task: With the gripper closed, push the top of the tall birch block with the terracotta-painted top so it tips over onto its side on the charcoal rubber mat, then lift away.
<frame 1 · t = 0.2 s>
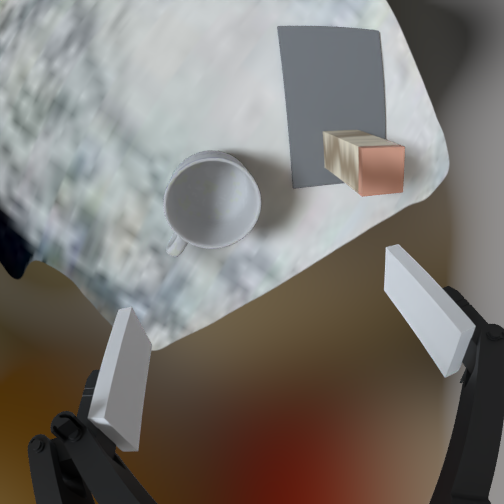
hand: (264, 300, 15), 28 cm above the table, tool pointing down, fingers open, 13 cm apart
teacup: (203, 192, 41), on the table
mat: (337, 104, 37), on the table
block: (341, 148, 40), resting on mat
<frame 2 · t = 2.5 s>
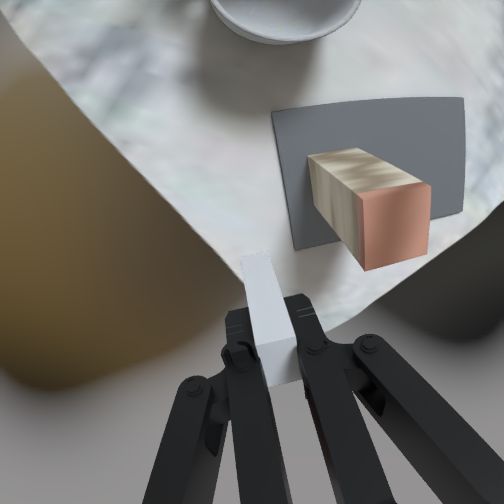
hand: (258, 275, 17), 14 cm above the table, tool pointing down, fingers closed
mat: (387, 166, 29), on the table
block: (335, 176, 29), resting on mat
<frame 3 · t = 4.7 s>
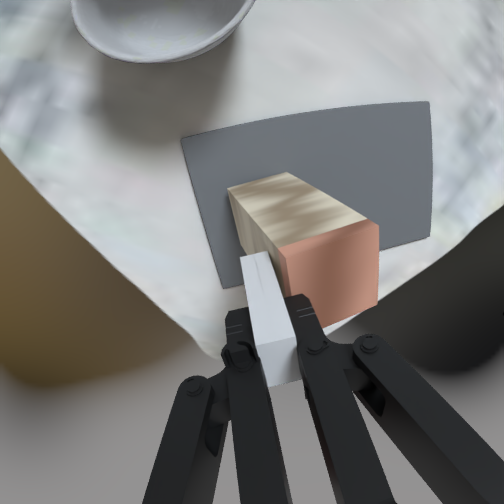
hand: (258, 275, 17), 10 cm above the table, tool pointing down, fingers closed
mat: (329, 190, 26), on the table
block: (263, 208, 26), point 1 cm above the table, tilted 10°, touching gripper, mat
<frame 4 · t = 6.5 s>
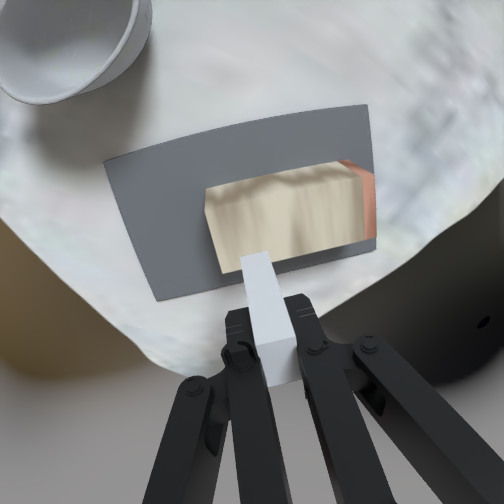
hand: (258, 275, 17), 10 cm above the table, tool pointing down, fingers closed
teacup: (84, 27, 17), on the table
mat: (253, 205, 26), on the table
block: (213, 229, 24), point 3 cm above the table, tilted 90°, touching mat
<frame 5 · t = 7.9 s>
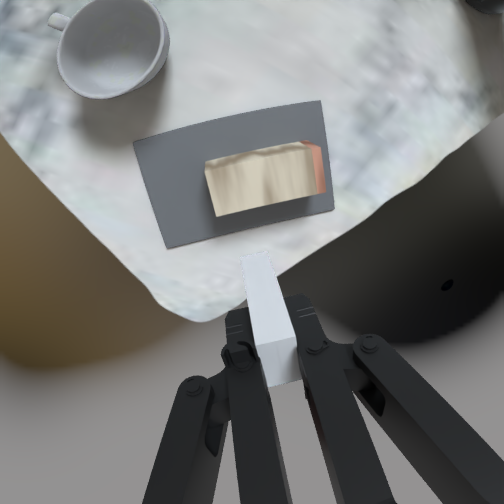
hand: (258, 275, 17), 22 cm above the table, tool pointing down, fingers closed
teacup: (118, 45, 27), on the table
mat: (239, 174, 36), on the table
block: (210, 187, 34), point 3 cm above the table, tilted 90°, touching mat
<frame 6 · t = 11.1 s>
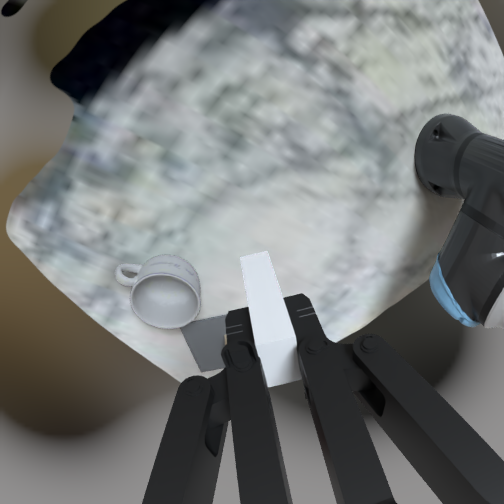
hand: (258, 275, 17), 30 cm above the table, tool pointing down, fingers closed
teacup: (162, 269, 51), on the table
mat: (244, 338, 60), on the table
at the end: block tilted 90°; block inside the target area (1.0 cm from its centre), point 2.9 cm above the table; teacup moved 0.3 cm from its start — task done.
